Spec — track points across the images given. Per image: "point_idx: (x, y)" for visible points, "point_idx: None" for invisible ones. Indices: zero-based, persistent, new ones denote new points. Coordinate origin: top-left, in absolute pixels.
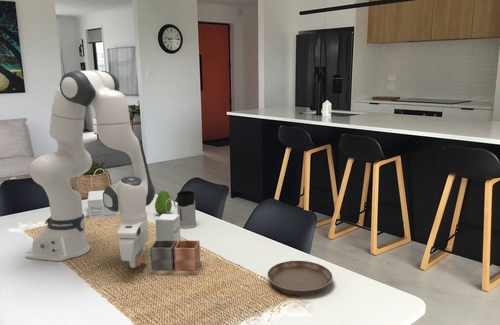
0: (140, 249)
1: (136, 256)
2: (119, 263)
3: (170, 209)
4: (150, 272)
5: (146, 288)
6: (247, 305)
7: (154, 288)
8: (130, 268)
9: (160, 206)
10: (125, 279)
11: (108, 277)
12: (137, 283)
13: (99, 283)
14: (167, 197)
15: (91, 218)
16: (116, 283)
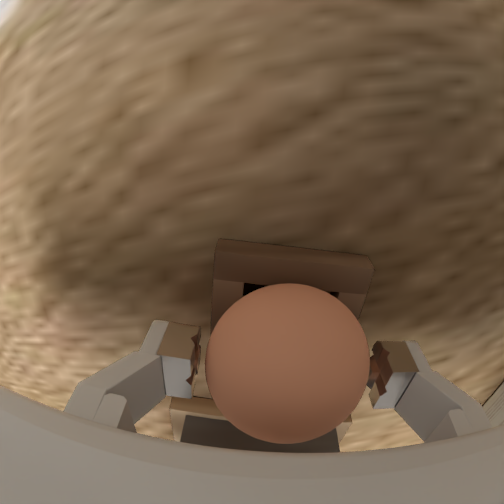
0: (427, 423)
1: (239, 425)
2: (427, 129)
3: None
4: (170, 404)
5: (27, 369)
6: None
7: (40, 394)
8: (219, 285)
9: None
10: (73, 256)
11: (95, 95)
12: (49, 334)
13: (11, 75)
14: None
15: None
16: (17, 205)
